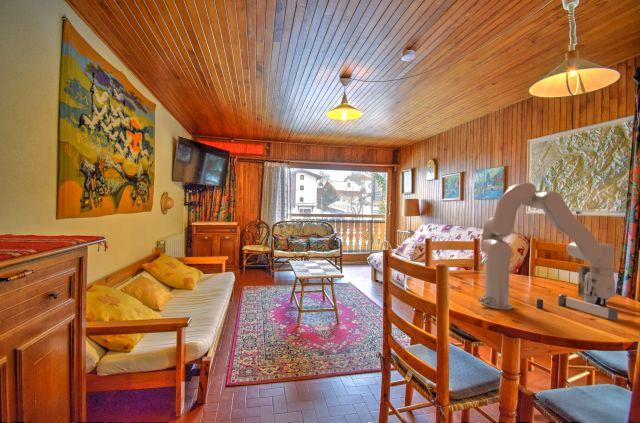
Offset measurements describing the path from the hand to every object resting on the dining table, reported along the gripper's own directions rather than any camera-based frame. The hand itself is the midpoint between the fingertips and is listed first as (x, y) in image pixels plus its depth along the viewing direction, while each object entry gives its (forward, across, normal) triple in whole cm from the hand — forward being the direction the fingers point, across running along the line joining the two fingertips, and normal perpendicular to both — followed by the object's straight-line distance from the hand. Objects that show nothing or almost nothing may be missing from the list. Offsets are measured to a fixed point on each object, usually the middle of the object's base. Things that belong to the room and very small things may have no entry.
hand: (600, 312), depth 125 cm
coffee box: (+1, +25, +17) cm, 30 cm away
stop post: (+1, -18, +13) cm, 22 cm away
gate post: (+1, -3, +13) cm, 13 cm away
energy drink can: (+1, +15, +11) cm, 18 cm away
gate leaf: (0, -3, +2) cm, 4 cm away
